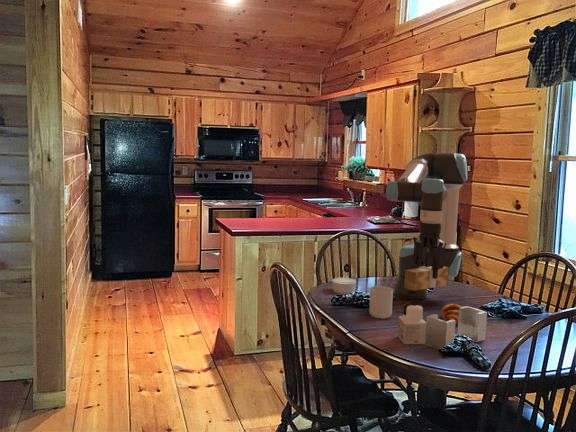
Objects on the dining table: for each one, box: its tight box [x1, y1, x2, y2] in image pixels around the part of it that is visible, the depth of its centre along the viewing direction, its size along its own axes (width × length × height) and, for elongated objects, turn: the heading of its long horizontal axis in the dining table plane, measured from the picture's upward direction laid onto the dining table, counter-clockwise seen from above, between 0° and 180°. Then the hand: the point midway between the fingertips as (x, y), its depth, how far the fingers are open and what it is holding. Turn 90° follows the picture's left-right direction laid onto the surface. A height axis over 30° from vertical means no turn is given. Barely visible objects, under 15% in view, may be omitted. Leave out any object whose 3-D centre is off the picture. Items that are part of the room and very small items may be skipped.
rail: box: [404, 266, 449, 291], centre depth 195 cm, size 18×4×6 cm, turn 124°
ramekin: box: [331, 277, 357, 295], centre depth 249 cm, size 11×11×5 cm
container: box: [397, 302, 426, 345], centre depth 188 cm, size 8×8×13 cm
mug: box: [369, 285, 394, 320], centre depth 216 cm, size 12×9×11 cm
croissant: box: [441, 303, 462, 326], centre depth 213 cm, size 21×10×8 cm, turn 158°
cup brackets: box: [424, 305, 488, 351], centre depth 187 cm, size 22×8×10 cm, turn 126°
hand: (426, 285), depth 196 cm, fingers closed on rail, 4 cm apart
